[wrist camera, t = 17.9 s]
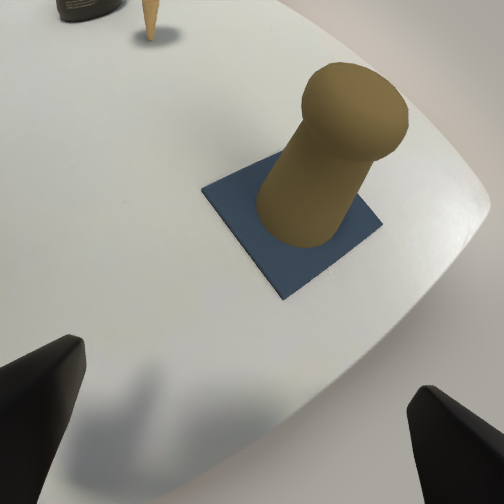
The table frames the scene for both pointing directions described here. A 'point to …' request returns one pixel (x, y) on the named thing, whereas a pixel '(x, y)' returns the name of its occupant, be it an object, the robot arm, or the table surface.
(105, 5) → the jar
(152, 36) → the ice cream cone
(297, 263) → the mat
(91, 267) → the table surface
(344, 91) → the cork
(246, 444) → the table surface
